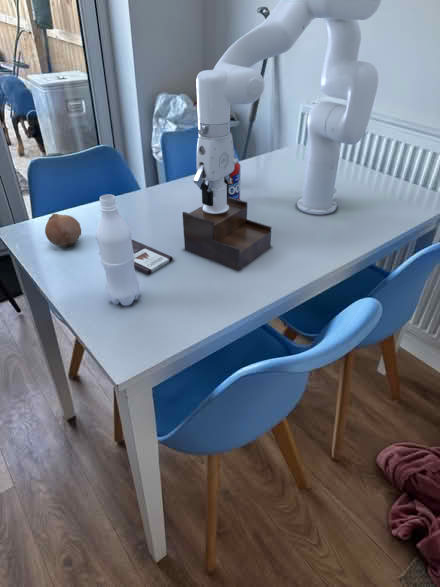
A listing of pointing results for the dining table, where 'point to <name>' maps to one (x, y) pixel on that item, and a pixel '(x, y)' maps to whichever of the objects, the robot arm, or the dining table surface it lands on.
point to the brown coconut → (62, 230)
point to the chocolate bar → (148, 258)
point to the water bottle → (116, 253)
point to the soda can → (235, 181)
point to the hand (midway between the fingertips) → (215, 199)
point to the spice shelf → (226, 235)
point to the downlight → (218, 197)
